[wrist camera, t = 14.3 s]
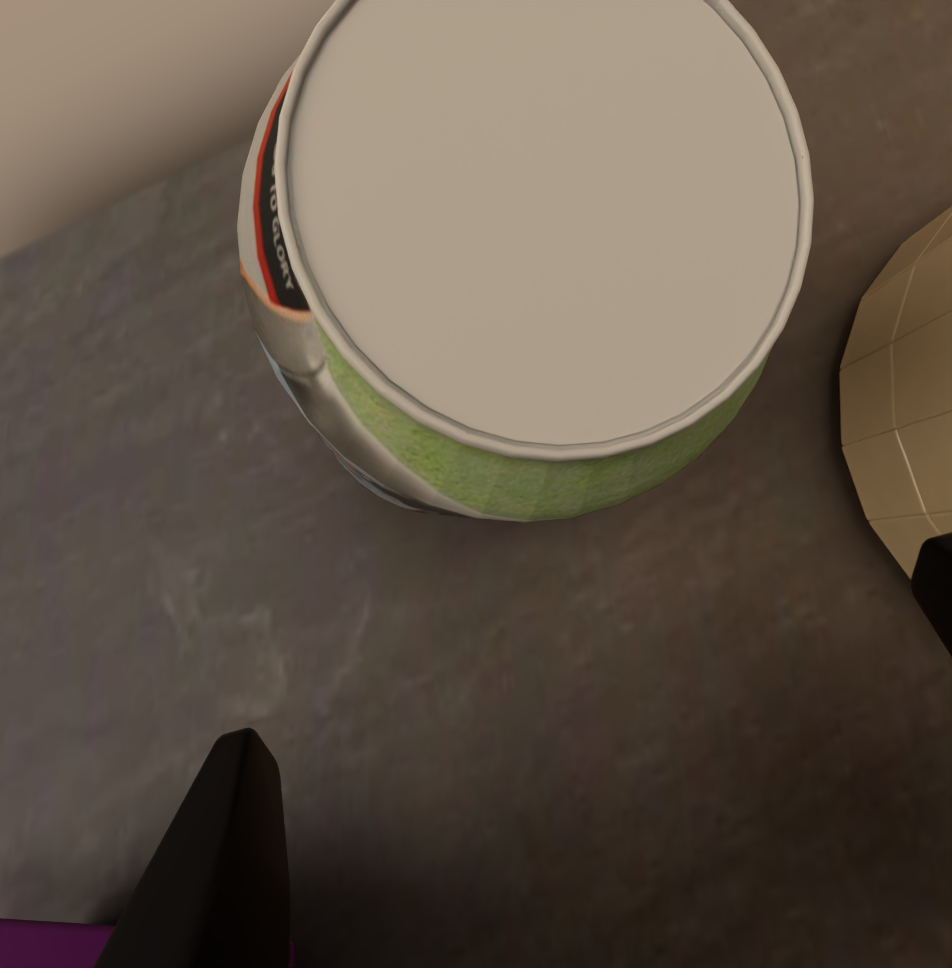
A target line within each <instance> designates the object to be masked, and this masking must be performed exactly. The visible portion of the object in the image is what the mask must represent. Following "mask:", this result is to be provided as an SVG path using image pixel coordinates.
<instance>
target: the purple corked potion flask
mask: <svg viewBox="0 0 952 968" xmlns="http://www.w3.org/2000/svg"><path fill="white" fill-rule="evenodd" d="M114 927H115V926H112V925H96V924H80V923H64V922H49V921H33V920H17V919H1V918H0V968H93V966H94V964H95V962H96V961H97V959H98V957H99V955H100V953H101V951H102V950H103V948H104V946H105V944H106V942H107V940H108V938H109V937H110V935H111V933H112V931H113V929H114ZM294 962H295V949H294V945H293V942H292V941H291V940H290V956H289V968H294Z"/></svg>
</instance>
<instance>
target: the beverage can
mask: <svg viewBox="0 0 952 968" xmlns="http://www.w3.org/2000/svg"><path fill="white" fill-rule="evenodd" d="M813 207H814V196H813V186H812V176H811V165H810V155H809V152H808V148H807V144H806V140H805V136H804V133H803V129H802V125H801V121H800V117H799V114H798V110H797V108H796V106H795V104H794V101H793V99H792V97H791V94H790V92H789V90H788V88H787V85H786V83H785V81H784V79H783V76H782V74H781V72H780V69H779V68H778V66H777V65H776V63H775V62H774V60H773V58H772V57H771V55H770V54H769V52H768V51H767V49H766V47H765V46H764V44H763V43H762V41H761V40H760V38H759V37H758V35H757V33H756V32H755V30H754V29H753V28H752V27H751V26H750V25H749V23H748V22H747V21H746V20H745V19H744V18H743V17H742V16H741V14H740V13H739V12H738V11H737V10H736V9H735V8H734V6H733V5H732V4H731V3H730V2H729V1H728V0H336V1H335V2H334V4H333V5H332V6H331V7H330V9H329V10H328V11H327V12H326V14H325V15H324V16H323V17H322V19H321V20H320V21H319V22H318V24H317V25H316V26H315V28H314V30H313V32H312V34H311V36H310V38H309V40H308V42H307V44H306V46H305V48H304V50H303V51H302V53H301V54H300V55H299V57H298V58H297V59H296V60H295V62H294V63H293V64H292V65H291V67H290V68H289V69H288V70H287V72H286V73H285V74H284V75H283V77H282V79H281V80H280V82H279V84H278V86H277V88H276V90H275V92H274V94H273V96H272V98H271V99H270V101H269V103H268V105H267V107H266V109H265V111H264V113H263V115H262V117H261V119H260V121H259V122H258V125H257V128H256V132H255V135H254V138H253V142H252V145H251V148H250V152H249V155H248V158H247V162H246V165H245V169H244V172H243V176H242V186H241V195H240V205H239V215H238V224H237V230H238V243H239V255H240V268H241V279H242V283H243V287H244V291H245V294H246V298H247V302H248V306H249V309H250V313H251V317H252V321H253V324H254V328H255V331H256V333H257V336H258V338H259V340H260V342H261V344H262V346H263V348H264V350H265V353H266V355H267V357H268V359H269V361H270V363H271V365H272V368H273V370H274V372H275V374H276V376H277V378H278V379H279V381H280V382H281V384H282V385H283V386H284V388H285V389H286V391H287V392H288V394H289V395H290V396H291V398H292V399H293V401H294V402H295V404H296V405H297V406H298V408H299V409H300V411H301V412H302V413H303V415H304V416H305V418H306V419H307V420H308V422H309V423H310V424H311V426H312V427H313V428H314V429H315V431H316V432H317V433H318V435H319V436H320V437H321V438H322V440H323V441H324V442H325V444H326V445H327V446H328V447H329V449H330V450H331V451H332V453H333V454H334V455H335V456H336V458H337V459H338V460H339V462H340V463H341V464H342V465H343V467H344V468H345V469H346V470H347V471H348V472H349V473H350V474H351V475H352V476H353V477H354V478H355V479H356V480H357V481H358V482H359V483H360V484H361V485H362V486H364V487H365V488H367V489H368V490H370V491H371V492H372V493H374V494H375V495H377V496H378V497H380V498H382V499H384V500H386V501H388V502H390V503H393V504H395V505H397V506H399V507H402V508H406V509H410V510H413V511H417V512H421V513H430V514H440V515H450V516H460V517H470V518H481V519H493V520H504V521H516V522H533V521H543V520H554V519H565V518H573V517H576V516H580V515H584V514H587V513H591V512H594V511H598V510H601V509H605V508H609V507H612V506H616V505H619V504H621V503H623V502H625V501H627V500H629V499H631V498H633V497H635V496H637V495H640V494H642V493H644V492H646V491H648V490H650V489H652V488H654V487H656V486H658V485H660V484H661V483H663V482H664V481H666V480H667V479H668V478H670V477H671V476H672V475H674V474H675V473H676V472H678V471H679V470H681V469H682V468H683V467H685V466H686V465H687V464H689V463H690V462H691V461H693V460H694V459H695V458H697V457H698V456H699V455H700V454H701V453H702V452H703V451H704V450H705V449H706V448H707V447H708V446H709V445H710V444H711V443H712V442H713V441H714V439H715V438H716V437H717V436H718V435H719V434H720V433H721V432H722V431H723V430H724V429H725V428H726V427H727V426H728V425H729V424H730V422H731V421H732V420H733V419H734V417H735V415H736V414H737V412H738V411H739V409H740V408H741V406H742V405H743V403H744V402H745V400H746V399H747V397H748V396H749V394H750V393H751V391H752V389H753V388H754V386H755V385H756V383H757V382H758V380H759V377H760V375H761V373H762V370H763V368H764V366H765V363H766V361H767V359H768V356H769V354H770V352H771V349H772V347H773V345H774V343H775V341H776V340H777V338H778V337H779V335H780V334H781V332H782V331H783V329H784V327H785V325H786V322H787V320H788V317H789V315H790V313H791V310H792V308H793V306H794V303H795V301H796V299H797V296H798V294H799V292H800V289H801V286H802V281H803V277H804V273H805V269H806V264H807V260H808V256H809V252H810V247H811V238H812V222H813Z"/></svg>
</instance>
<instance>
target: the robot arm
mask: <svg viewBox="0 0 952 968" xmlns="http://www.w3.org/2000/svg"><path fill="white" fill-rule="evenodd" d="M911 589H912V593H913V595H914V597H915V599H916V601H917V603H918V604H919V606H920V607H921V609H922V611H923V612H924V614H925V615H926V617H927V618H928V620H929V622H930V623H931V625H932V626H933V628H934V630H935V631H936V633H937V634H938V636H939V638H940V639H941V641H942V642H943V644H944V645H945V647H946V649H947V650H948V652H949V653H950V655H951V657H952V532H950V533H946V534H943V535H939V536H935V537H932V538H929V539H926V540H925V541H924V542H923V543H922V545H921V548H920V551H919V554H918V557H917V561H916V564H915V567H914V570H913V574H912V577H911ZM289 956H290V885H289V871H288V860H287V849H286V837H285V826H284V814H283V803H282V791H281V780H280V773H279V768H278V765H277V762H276V760H275V758H274V757H273V755H272V754H271V752H270V751H269V749H268V748H267V747H266V745H265V744H264V742H263V741H262V739H261V738H260V736H259V735H258V734H257V732H256V731H255V730H254V729H251V728H245V729H241V730H237V731H234V732H230V733H227V734H224V735H222V736H221V737H219V738H218V739H217V741H216V742H215V744H214V745H213V747H212V749H211V751H210V753H209V755H208V756H207V758H206V760H205V762H204V764H203V766H202V767H201V769H200V771H199V773H198V775H197V777H196V778H195V780H194V782H193V784H192V786H191V788H190V789H189V791H188V793H187V795H186V797H185V799H184V801H183V802H182V804H181V806H180V808H179V810H178V812H177V813H176V815H175V817H174V819H173V821H172V823H171V824H170V826H169V828H168V830H167V832H166V834H165V835H164V837H163V839H162V841H161V843H160V845H159V847H158V848H157V850H156V852H155V854H154V856H153V858H152V859H151V861H150V863H149V865H148V867H147V869H146V870H145V872H144V874H143V876H142V878H141V880H140V881H139V883H138V885H137V887H136V889H135V891H134V893H133V894H132V896H131V898H130V900H129V902H128V904H127V905H126V907H125V909H124V911H123V913H122V915H121V916H120V918H119V920H118V922H117V924H116V926H115V927H114V929H113V931H112V933H111V935H110V937H109V938H108V940H107V942H106V944H105V946H104V948H103V950H102V951H101V953H100V955H99V957H98V959H97V961H96V962H95V964H94V966H93V968H289Z"/></svg>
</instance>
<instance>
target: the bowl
mask: <svg viewBox="0 0 952 968" xmlns="http://www.w3.org/2000/svg"><path fill="white" fill-rule="evenodd" d="M840 370H841V371H840V373H839V380H840V418H841V443H842V445H844V446H842V451H843V454H844V456H845V459H846V462H847V465H848V468H849V471H850V473H851V476H852V479H853V482H854V485H855V488H856V491H857V493H858V496H859V499H860V502H861V505H862V508H863V511H864V513H865V516H866V519H867V520H870V521H869V524H870V525H871V527H872V528H873V529H874V531H875V532H876V533H877V535H878V536H879V538H880V539H881V540H882V542H883V543H884V544H885V546H886V547H887V548H888V550H889V551H890V552H891V554H892V555H893V557H894V558H895V559H896V561H897V562H898V563H899V565H900V566H901V567H902V569H903V570H904V571H905V573H906V574H907V576H908V577H909V578H910V580H911V577H912V574H913V570H914V567H915V564H916V561H917V557H918V554H919V551H920V548H921V545H922V543H923V542H924V541H925V540H926V539H929V538H932V537H935V536H939V535H943V534H946V533H950V532H952V206H951V207H950V208H948V209H947V210H946V211H944V212H943V213H942V214H940V215H939V216H938V217H936V218H935V219H934V220H932V221H931V222H930V223H928V224H927V225H926V226H924V227H923V228H922V229H920V230H919V231H918V232H916V233H915V234H913V235H912V236H911V237H909V238H908V239H907V240H905V242H904V243H902V244H901V246H900V247H899V248H898V250H897V251H896V252H895V254H894V255H893V256H892V258H891V259H890V260H889V262H888V263H887V264H886V266H885V267H884V268H883V270H882V271H881V272H880V274H879V275H878V277H877V278H876V279H875V281H874V282H873V283H872V285H871V286H870V287H869V289H868V290H867V291H866V293H865V294H864V295H863V297H862V298H861V302H860V304H859V307H858V310H857V314H856V317H855V320H854V323H853V326H852V330H851V333H850V336H849V339H848V343H847V346H846V349H845V352H844V356H843V359H842V362H841V365H840Z"/></svg>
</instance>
